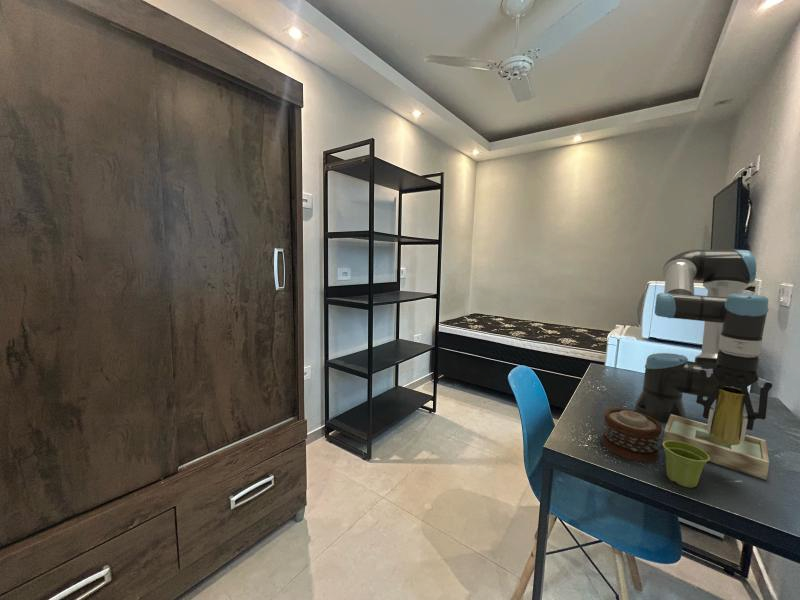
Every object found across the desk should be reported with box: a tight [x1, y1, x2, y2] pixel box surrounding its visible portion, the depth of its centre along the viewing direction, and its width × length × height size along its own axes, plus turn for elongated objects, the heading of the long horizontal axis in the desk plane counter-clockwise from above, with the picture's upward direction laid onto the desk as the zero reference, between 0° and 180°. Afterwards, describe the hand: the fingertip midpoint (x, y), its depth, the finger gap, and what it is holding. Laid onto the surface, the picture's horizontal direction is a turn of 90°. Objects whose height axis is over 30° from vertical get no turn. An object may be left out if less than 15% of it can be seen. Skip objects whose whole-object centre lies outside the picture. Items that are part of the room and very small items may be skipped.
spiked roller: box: [602, 408, 663, 463], centre depth 101 cm, size 15×11×15 cm
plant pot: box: [662, 440, 710, 489], centre depth 86 cm, size 9×9×9 cm
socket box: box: [661, 414, 770, 481], centre depth 100 cm, size 22×16×5 cm
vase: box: [709, 386, 745, 445], centre depth 88 cm, size 6×6×14 cm
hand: (724, 434), depth 89 cm, fingers closed on vase, 6 cm apart
